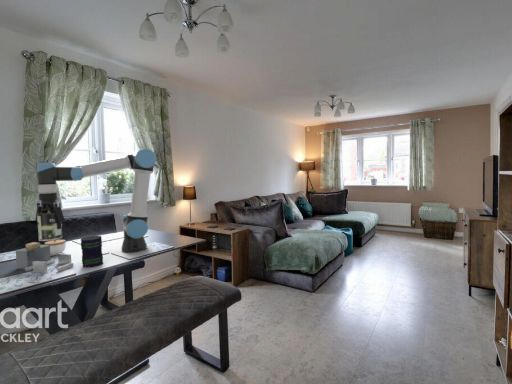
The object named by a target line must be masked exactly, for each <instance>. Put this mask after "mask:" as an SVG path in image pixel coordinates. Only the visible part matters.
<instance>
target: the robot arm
mask: <svg viewBox="0 0 512 384" xmlns="http://www.w3.org/2000/svg"><path fill="white" fill-rule="evenodd" d="M156 162H157V156H156V153H155V152H154V151H153V150H152V149H149V148H143V147H142V148H139V149H138V150H136V151H134V152H132V153H128V154H125V156H121V157H116V158H115V157H114V158H111V159H106V160H101V161H96V162H90V163H87V164H86V163H85V164H82V165H74V166H56V165H55V163H54V162H53V163H52V162H39V163H38V164H37V165H36V174H37V175H36V176H37V177H36V178H37V191H38V200H39V201H40V202H37V203H36V212H35V219H34V220H35V222H38V221H37V213H46V212H51V213H56V215H54V220H55V223H54V225H55V236H57V235H61V222H65V217H64V214H63V211H62V208H61V207H62V206H61V203H60V202H56V200H57V199H58V193H57V182H69V181H71V182H76V181H77V182H78V181H82V180H83V179H84V178H89V177H94V176H99V175H103V174H109V173H113V172H117V171H122V170H127V169H128V170H133V172H134V179H133V188H132V197H131V205H130V212H128V213H127V214H124V215H123V216H122V225H123V228H122V229H123V240H122V241H123V242H122V245H121V252H123V253H124V252H125V253H135V251H136V252H140V250H141V251H144V250H146V249H147V248H148V244H147V243H146V240H145V237H144V236H146V235H147V232H148V230H149V226H148V220H149V219H148V218H149V216H148V214H147V205H148V197H149V187H150V181H151V179H150V178H151V174H153V173H154V170H155V169H154V168H155V165H156ZM145 248H146V249H145ZM143 249H144V250H143Z"/></svg>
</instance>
